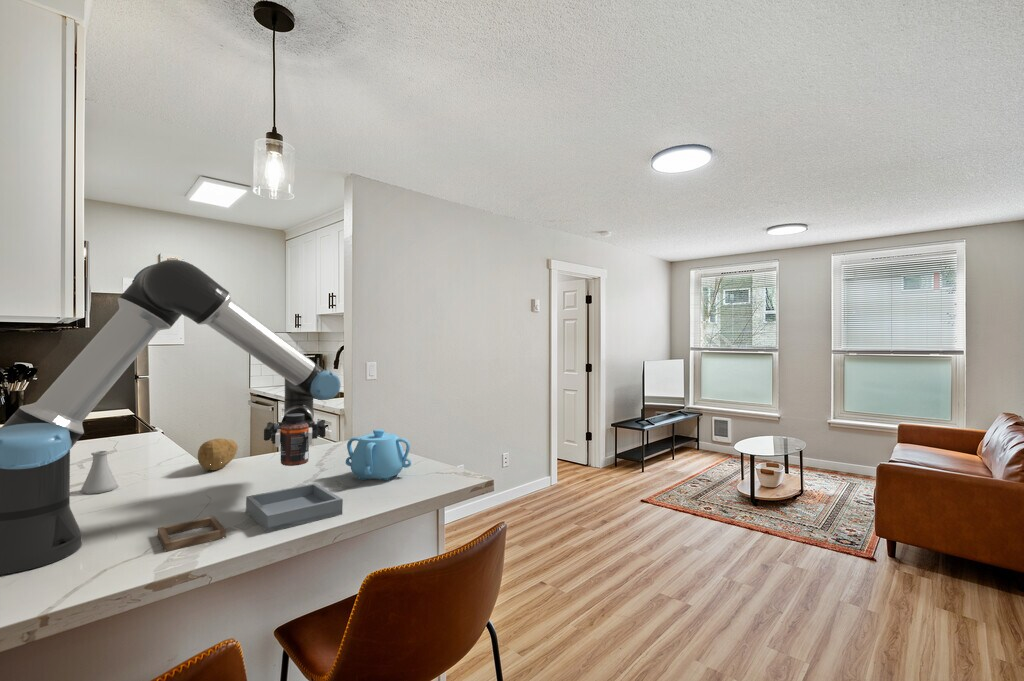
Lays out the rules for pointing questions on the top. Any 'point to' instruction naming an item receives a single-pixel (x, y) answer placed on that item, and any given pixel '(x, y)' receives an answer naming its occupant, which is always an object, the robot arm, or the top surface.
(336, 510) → the tray
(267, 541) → the top surface
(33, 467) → the robot arm
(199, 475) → the top surface
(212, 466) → the potato
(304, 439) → the supplement bottle
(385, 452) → the decorative pot
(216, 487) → the top surface
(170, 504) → the top surface
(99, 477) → the flask
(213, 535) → the rectangular wooden frame
